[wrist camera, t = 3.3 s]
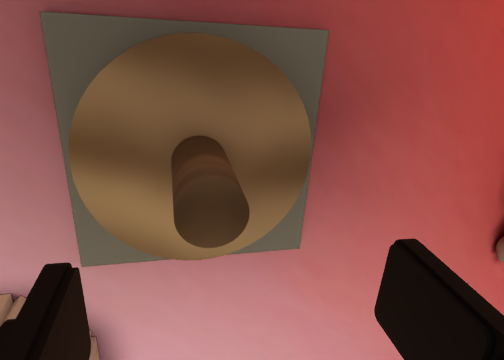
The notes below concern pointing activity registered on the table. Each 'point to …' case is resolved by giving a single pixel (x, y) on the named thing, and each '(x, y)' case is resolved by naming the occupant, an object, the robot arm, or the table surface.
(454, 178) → the table surface
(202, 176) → the lid
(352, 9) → the table surface
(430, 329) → the robot arm
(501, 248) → the hippopotamus figurine
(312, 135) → the mat
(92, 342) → the bowl
